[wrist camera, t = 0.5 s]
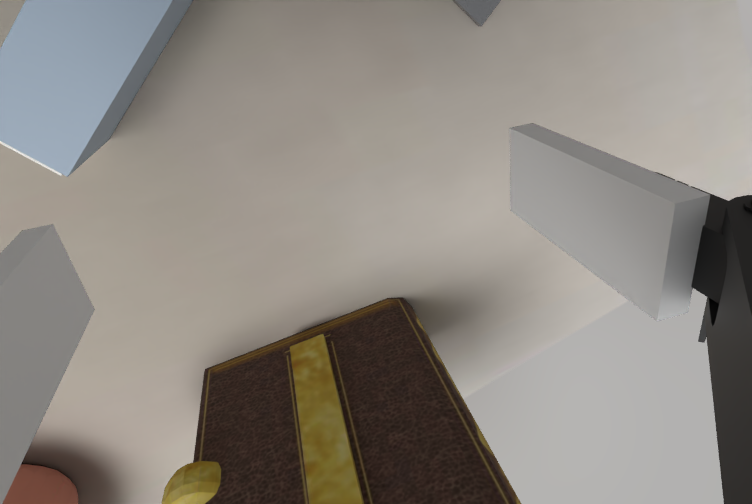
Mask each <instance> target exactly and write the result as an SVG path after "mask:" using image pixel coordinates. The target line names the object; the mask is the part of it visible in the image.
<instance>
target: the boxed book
mask: <svg viewBox="0 0 752 504" xmlns="http://www.w3.org/2000/svg"><path fill="white" fill-rule="evenodd" d="M192 1H193V0H26V1H25V3H24V5H23V7H22V9H21V11H20V12H19V14H18V16H17V18H16V20H15V22H14V24H13V26H12V28H11V30H10V32H9V33H8V35H7V37H6V39H5V41H4V43H3V45H2V47H1V49H0V144H2V145H4V146H6V147H8V148H10V149H12V150H14V151H15V152H17V153H19V154H21V155H23V156H25V157H27V158H29V159H30V160H32V161H34V162H36V163H38V164H40V165H42V166H44V167H45V168H47V169H49V170H51V171H53V172H55V173H57V174H59V175H60V176H62V175H65V176H67V177H68V176H69V175H70V174H71V173H72V172H74V171H75V170H76V169H77V168H78V167H79V166H80V165H81V164H82V163H84V162H85V161H86V160H87V159H88V158H89V157H90V156H91V155H92V154H94V153H95V152H96V151H97V150H98V149H99V148H100V147H101V146H102V145H103V144H105V143H106V142H107V141H108V140H109V139H110V137H111V135H112V134H113V132H114V130H115V129H116V127H117V125H118V124H119V122H120V120H121V119H122V117H123V115H124V114H125V112H126V110H127V109H128V107H129V105H130V104H131V102H132V101H133V99H134V97H135V96H136V94H137V92H138V91H139V89H140V87H141V86H142V84H143V82H144V81H145V79H146V77H147V76H148V74H149V72H150V71H151V69H152V67H153V66H154V64H155V63H156V61H157V59H158V58H159V56H160V54H161V53H162V51H163V49H164V48H165V46H166V44H167V43H168V41H169V39H170V38H171V36H172V34H173V33H174V31H175V29H176V28H177V26H178V25H179V23H180V21H181V20H182V18H183V16H184V15H185V13H186V11H187V10H188V8H189V6H190V5H191V3H192Z"/></svg>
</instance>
